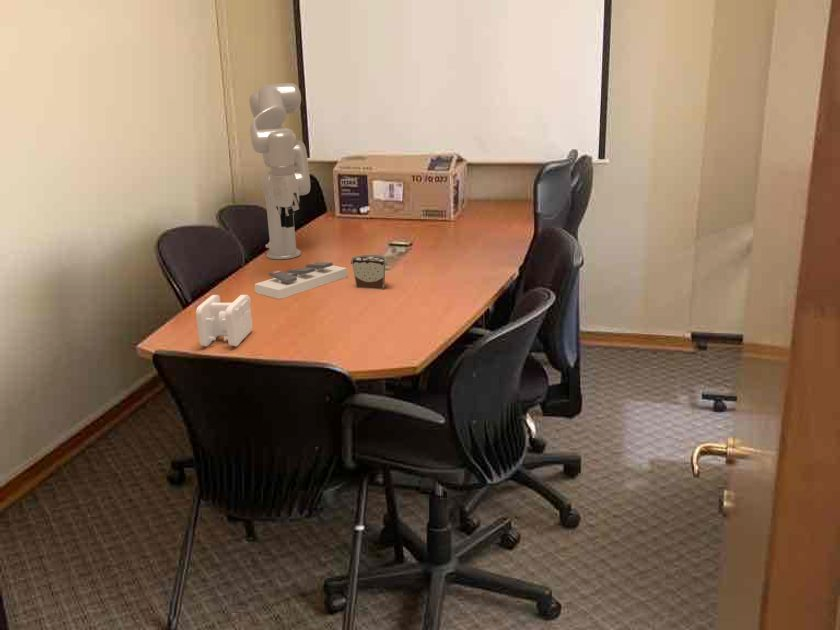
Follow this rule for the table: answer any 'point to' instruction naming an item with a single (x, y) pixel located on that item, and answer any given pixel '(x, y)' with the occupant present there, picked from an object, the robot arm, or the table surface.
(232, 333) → the cable organizer
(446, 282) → the table surface
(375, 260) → the food container
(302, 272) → the rocker
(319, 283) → the rocker switch panel
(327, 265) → the rocker
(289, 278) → the rocker
